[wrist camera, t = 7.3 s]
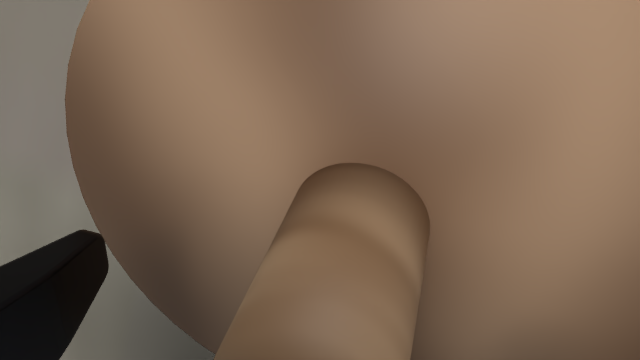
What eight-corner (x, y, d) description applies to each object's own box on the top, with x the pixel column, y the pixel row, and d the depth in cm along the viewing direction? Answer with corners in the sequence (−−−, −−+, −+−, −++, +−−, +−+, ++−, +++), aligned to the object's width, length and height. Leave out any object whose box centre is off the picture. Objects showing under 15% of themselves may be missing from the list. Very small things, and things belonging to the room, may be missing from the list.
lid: (231, 397, 19) (153, 573, 15) (-29, -15, 12) (-305, 87, 8) (732, 397, 13) (841, 680, 9) (738, -341, 7) (1129, -559, 3)
